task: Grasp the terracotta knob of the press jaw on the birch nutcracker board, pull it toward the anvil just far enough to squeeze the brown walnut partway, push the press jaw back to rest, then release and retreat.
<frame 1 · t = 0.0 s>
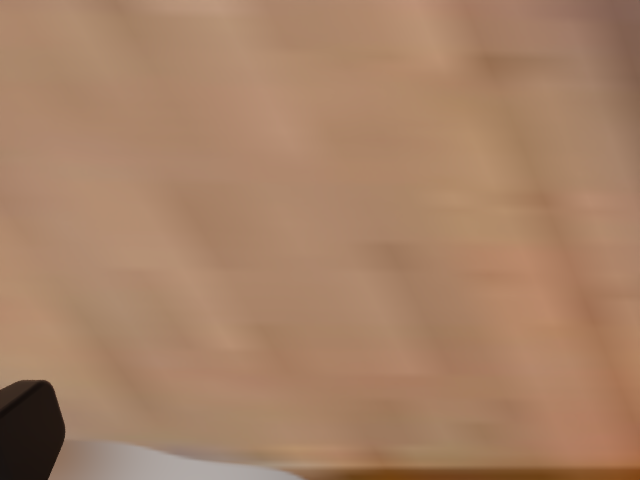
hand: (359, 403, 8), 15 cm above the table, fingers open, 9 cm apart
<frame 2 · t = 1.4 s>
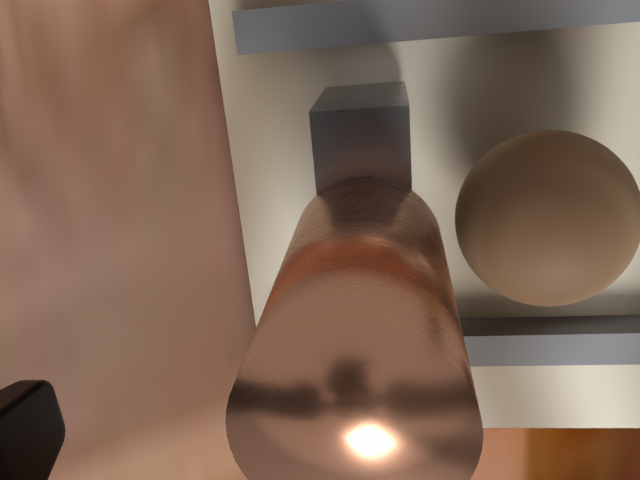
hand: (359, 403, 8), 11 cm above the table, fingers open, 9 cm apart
walnut: (544, 218, 14), point 4 cm above the table, slide at 0.0 cm
press jaw: (365, 272, 12), point 7 cm above the table, slide at 0.0 cm
nutcracker board: (511, 170, 17), on the table
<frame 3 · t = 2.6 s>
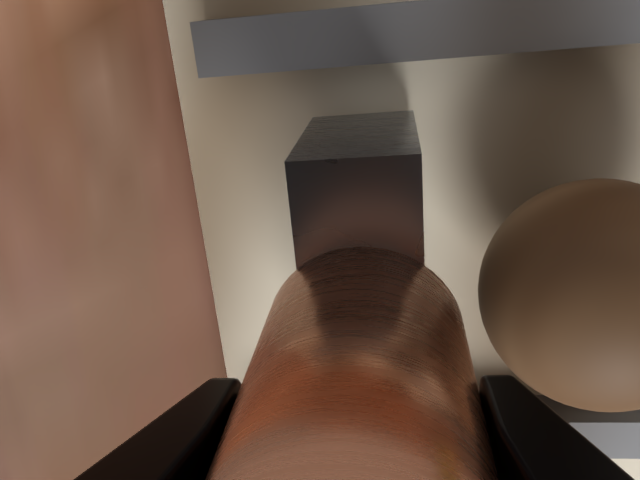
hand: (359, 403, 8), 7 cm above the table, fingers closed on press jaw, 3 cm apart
walnut: (596, 293, 10), point 4 cm above the table, slide at 0.0 cm
press jaw: (360, 382, 9), point 7 cm above the table, slide at 0.0 cm, touching gripper
nutcracker board: (542, 215, 14), on the table
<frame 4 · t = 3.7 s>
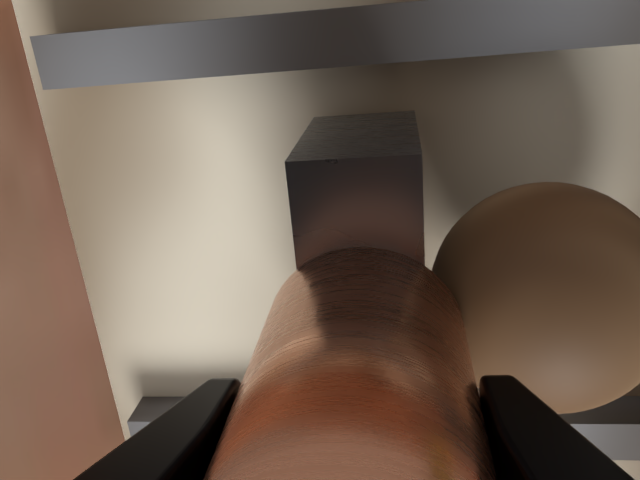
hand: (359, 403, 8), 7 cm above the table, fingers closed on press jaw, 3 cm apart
walnut: (544, 295, 11), point 4 cm above the table, slide at 2.3 cm, touching press jaw
press jaw: (360, 382, 9), point 7 cm above the table, slide at 3.2 cm, touching gripper, walnut
nutcracker board: (407, 221, 15), on the table
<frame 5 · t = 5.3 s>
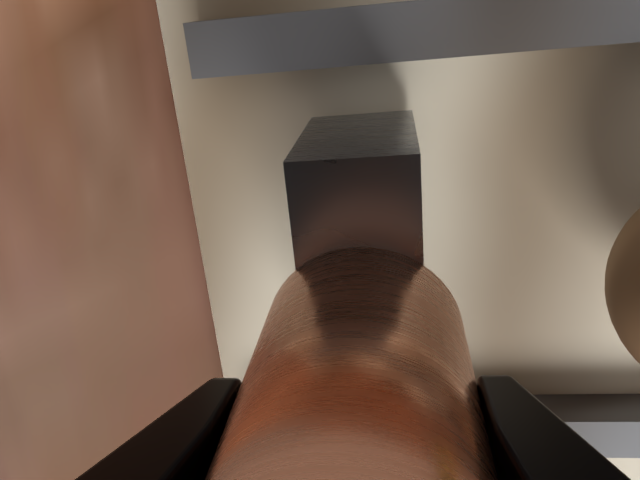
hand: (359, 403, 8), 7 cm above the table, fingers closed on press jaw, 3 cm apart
press jaw: (360, 382, 9), point 7 cm above the table, slide at 0.1 cm, touching gripper
nutcracker board: (537, 215, 14), on the table
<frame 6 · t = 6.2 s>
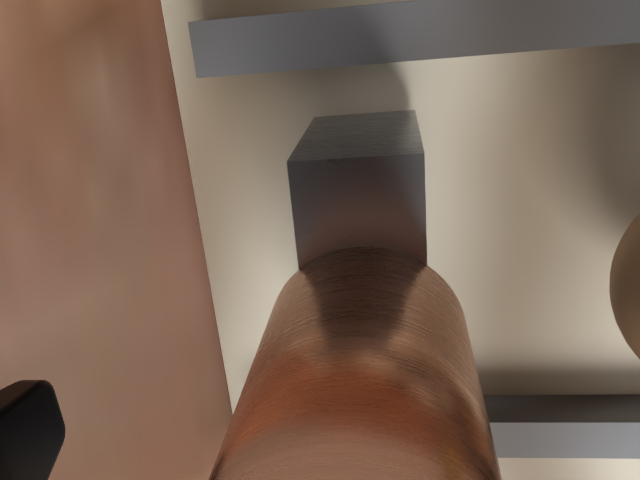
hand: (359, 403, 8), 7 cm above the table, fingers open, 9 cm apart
press jaw: (363, 382, 9), point 7 cm above the table, slide at 0.1 cm
nutcracker board: (541, 215, 14), on the table
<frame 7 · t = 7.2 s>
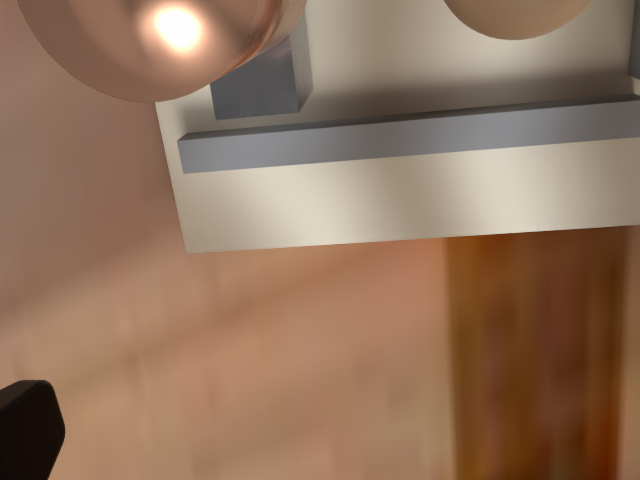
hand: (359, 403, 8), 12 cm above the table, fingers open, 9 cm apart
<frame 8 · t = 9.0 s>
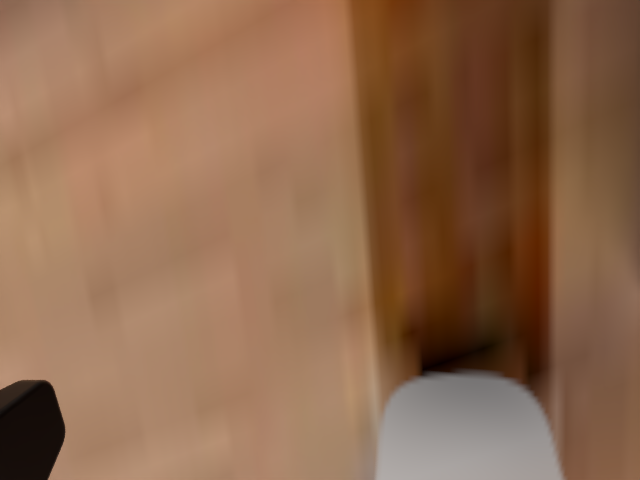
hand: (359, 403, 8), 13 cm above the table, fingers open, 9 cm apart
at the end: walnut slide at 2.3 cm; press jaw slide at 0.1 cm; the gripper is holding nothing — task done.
